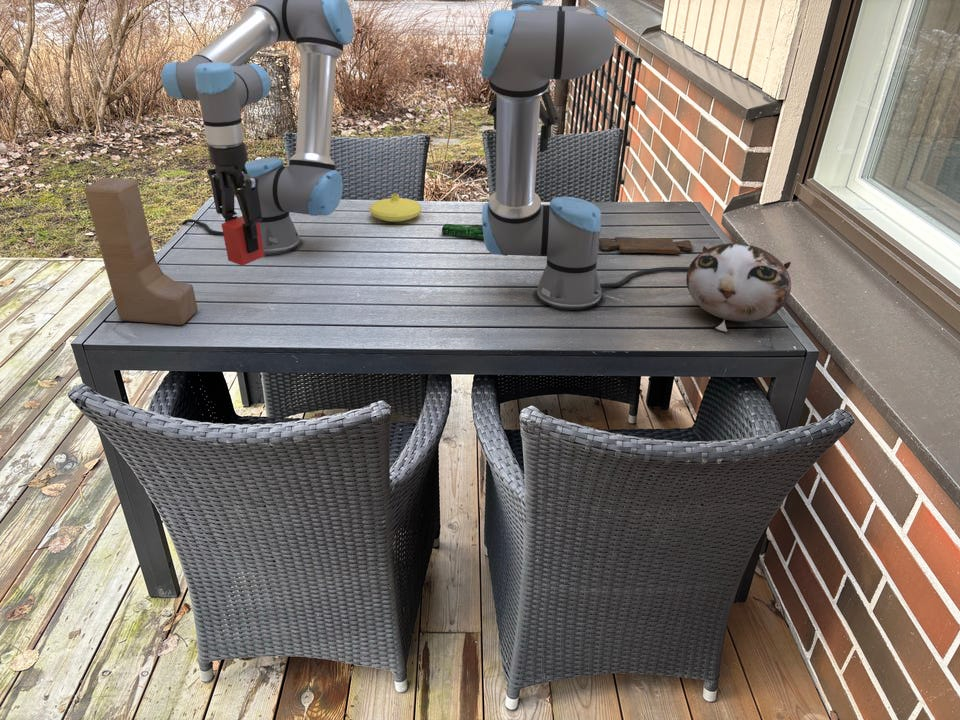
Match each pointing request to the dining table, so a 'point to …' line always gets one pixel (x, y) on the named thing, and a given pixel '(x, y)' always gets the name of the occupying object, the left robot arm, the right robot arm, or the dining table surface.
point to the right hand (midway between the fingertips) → (521, 147)
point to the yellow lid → (395, 209)
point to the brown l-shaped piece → (134, 257)
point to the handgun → (464, 231)
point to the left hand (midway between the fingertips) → (244, 248)
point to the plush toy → (738, 282)
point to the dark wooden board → (645, 245)
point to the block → (240, 242)
